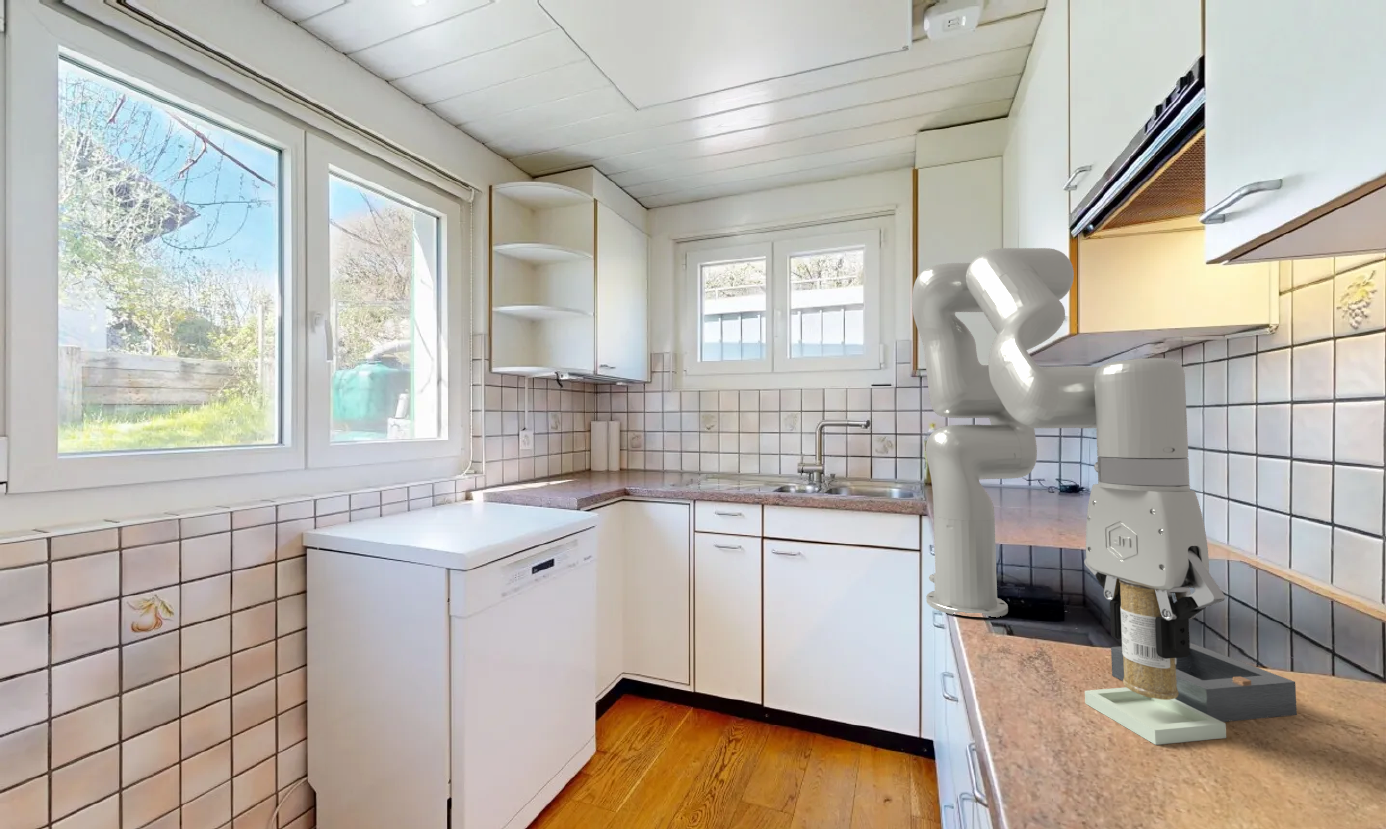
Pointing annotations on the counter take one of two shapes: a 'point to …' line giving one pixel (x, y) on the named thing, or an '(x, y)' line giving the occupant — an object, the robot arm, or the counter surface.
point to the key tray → (1155, 716)
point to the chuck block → (1225, 686)
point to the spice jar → (1144, 645)
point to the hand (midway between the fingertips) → (1148, 644)
